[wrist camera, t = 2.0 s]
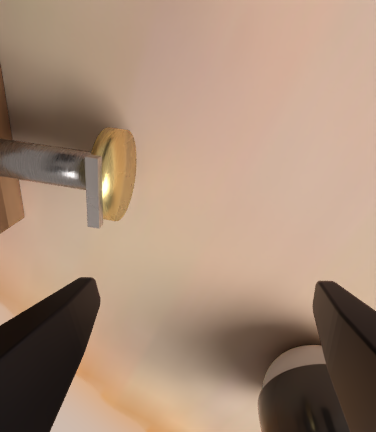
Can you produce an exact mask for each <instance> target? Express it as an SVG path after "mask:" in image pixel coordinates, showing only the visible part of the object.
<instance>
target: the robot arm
mask: <svg viewBox="0 0 376 432" xmlns="http://www.w3.org/2000/svg"><path fill="white" fill-rule="evenodd" d="M99 307H100V296H99V292H98V288H97V285H96V281H95V279H94V278H91V277H81V278H78V279H77V280H75V281H73V282H72V283H70V284H68V285H67V286H65V287H63V288H62V289H60V290H58V291H57V292H55V293H54V294H52V295H50V296H49V297H47V298H45V299H44V300H42V301H40V302H39V303H37V304H35V305H34V306H32V307H30V308H29V309H27V310H25V311H24V312H22V313H20V314H19V315H17V316H15V317H14V318H12V319H10V320H9V321H8V322H5V323H4V324H2V325H1V326H0V432H50V430H51V427H52V426H53V423H54V421H55V419H56V416H57V414H58V412H59V410H60V407H61V405H62V403H63V401H64V398H65V396H66V394H67V392H68V389H69V387H70V385H71V382H72V380H73V378H74V376H75V374H76V371H77V369H78V367H79V364H80V362H81V360H82V357H83V355H84V352H85V350H86V347H87V344H88V341H89V338H90V335H91V332H92V328H93V325H94V322H95V319H96V316H97V313H98V310H99ZM313 313H314V317H315V321H316V325H317V330H318V334H319V338H320V342H321V346H322V350H323V354H324V358H325V362H326V365H327V369H328V372H329V375H330V378H331V380H332V383H333V386H334V389H335V391H336V394H337V397H338V399H339V402H340V405H341V408H342V410H343V413H344V416H345V419H346V421H347V424H348V427H349V430H350V432H376V311H375V310H373V309H372V308H371V307H369V306H368V305H366V304H365V303H364V302H362V301H361V300H359V299H358V298H357V297H355V296H354V295H352V294H351V293H350V292H348V291H347V290H345V289H344V288H342V287H341V286H340V285H338V284H337V283H335V282H333V281H318V282H317V283H316V286H315V293H314V299H313Z"/></svg>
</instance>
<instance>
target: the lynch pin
mask: <svg viewBox="0 0 376 432" xmlns="http://www.w3.org/2000/svg"><path fill="white" fill-rule="evenodd" d="M135 175H136V146H135V141H134V138H133V135H132V133H131V132H130V131H129V130H123V129H117V128H110V127H108V128H105V129H103V130H102V131H101V133H100V134H99V135H98V137H97V139H96V141H95V143H94V146H93V148H92V152H87V151H80V150H74V149H67V148H60V147H54V146H47V145H41V144H34V143H28V142H21V141H14V140H8V139H1V138H0V176H1V177H8V178H14V179H20V180H26V181H33V182H39V183H45V184H51V185H58V186H64V187H70V188H77V189H83V190H86V198H87V221H88V227H93V228H100V227H101V226H102V225H103V219H106V220H112V221H119V220H120V219H121V218H122V217H123V216H124V214H125V212H126V210H127V208H128V206H129V203H130V200H131V196H132V192H133V188H134V182H135Z"/></svg>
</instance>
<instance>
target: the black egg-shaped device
mask: <svg viewBox="0 0 376 432" xmlns="http://www.w3.org/2000/svg"><path fill="white" fill-rule="evenodd" d="M258 414H259V421H260V427H261V432H350V430H349V427H348V424H347V421H346V419H345V416H344V413H343V410H342V408H341V405H340V402H339V399H338V397H337V394H336V391H335V389H334V386H333V383H332V380H331V378H330V375H329V372H328V369H327V365H326V362H325V358H324V354H323V350H322V346H320V345H305V346H299V347H296V348H293V349H290V350H288V351H286V352H284V353H283V354H281V355H280V356H278V357H277V358H276V359H275V360H274V361H273V363H272V364H271V365H270V367H269V368H268V370H267V372H266V375H265V377H264V381H263V385H262V390H261V392H260V395H259V398H258Z"/></svg>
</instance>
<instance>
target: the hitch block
mask: <svg viewBox="0 0 376 432" xmlns="http://www.w3.org/2000/svg"><path fill="white" fill-rule="evenodd" d="M0 138H1V139H8V140H12V135H11V128H10V122H9V115H8V109H7V103H6V96H5V90H4V84H3V77H2V71H1V65H0ZM23 218H24V211H23V204H22V198H21V192H20V185H19V179H14V178H8V177H1V176H0V233H2V232H3V231H5V230H6V229H8V228H9V227H11V226H12V225H14V224H15V223H17V222H18V221H20V220H21V219H23Z"/></svg>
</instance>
